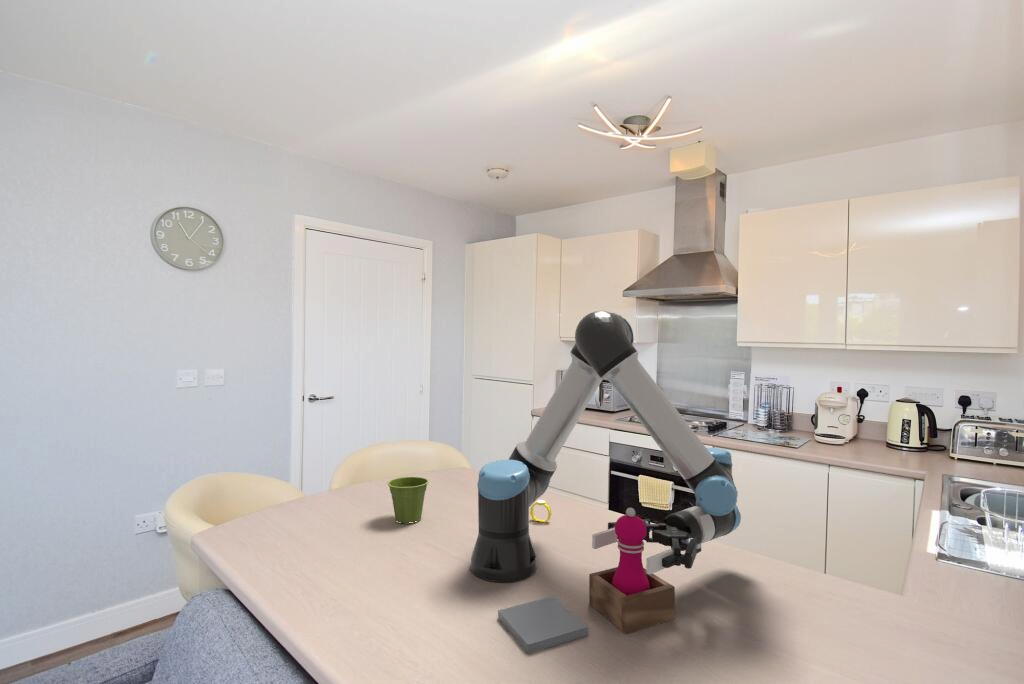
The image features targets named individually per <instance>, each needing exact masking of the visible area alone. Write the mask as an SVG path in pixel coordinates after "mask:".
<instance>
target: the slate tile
mask: <svg viewBox="0 0 1024 684" xmlns="http://www.w3.org/2000/svg"><path fill="white" fill-rule="evenodd" d="M497 612H498V613H497V615H498V617H497V619H498V620H499V621H500V622H501V623H502V625H503V626H504V627H505V628H506V629H507V631H509V634H511V636H512V637H513V638H514V639H515V640H516V641H517V643H518V644H519V645H520V647H522V649H523V650H524V651H525V652H526V653H527V654H528V655H529V654H531V653H534V652H538V651H541V650H546V649H548V648H552V647H555V646H557V645H560V644H564V643H567V642H570V641H574V640H577V639H581V638H583V637H586V636H589V633H588V632H589V627H588V625H586V624H585V623H584V622H583V621H582V620H581V619H580V618H579V617H578V616H576V615H575V614H574V613H573V612H572V611H571V610H570V609H569V608H568V607H566V606H565V605H564V604H563V603H562V602H560V600H558V599H557V598H556V597H555V596H554V595H552V596H549V597H545V598H542V599H541V598H540V599H537V600H533V601H529V602H526V603H522V604H518V605H514V606H510V607H505V608H502V609H498V610H497Z"/></svg>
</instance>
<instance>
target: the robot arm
mask: <svg viewBox="0 0 1024 684" xmlns="http://www.w3.org/2000/svg"><path fill="white" fill-rule="evenodd" d="M634 338H635V337H634V330H633V328H632V326H631V324H630V323H629V321H628V320H627V319H626V318H624V317H623V316H622V315H621V314H620V315H619V314H617V313H615V312H611V311H606V310H597V311H592V312H589V313H587V314H586V315H585V316H583V318H581V320H580V321H579V323H578V324H577V325H576V328H575V332H574V339H575V343H574V345H573V347H572V349H571V350H570V352H569V353H570V357H571V363H570V364H569V365H568V368H567V370H566V371H565V373H564V374H563V376H562V378H561V380H560V382H559V383H558V385H557V387H556V389H555V391H554V392H553V393H552V395H551V397H550V399H549V400H548V402H547V404H546V406H545V408H544V409H543V411H542V413H541V415H540V416H539V418H538V420H537V422H536V423H535V425H534V426H533V429H532V430H531V432H530V434H529V435H528V437H527V439H526V440H525V441H524V440H523V441H521V442H518V443H517V444H516V445H515V447H514V449H513V450H512V452H511V454H510V456H509V458H508V459H499V460H495V461H491V462H488V463H487V464H486V463H485V465H483V466H482V467H481V468H480V470H479V472H478V480H477V491H478V492H477V496H478V497H477V498H478V499H477V505H478V507H477V509H478V511H477V512H478V513H477V515H478V519H477V521H478V533H477V537H476V542H475V544H474V548H473V550H472V553H471V557H470V570H471V572H472V573H473V575H475V576H477V577H478V578H480V579H483V580H486V581H490V582H495V583H511V582H517V581H522V580H524V579H526V578H529V577H531V576H532V575H533V574H534V573H535V572H536V571H537V568H538V567H537V560H538V559H537V554H536V551H535V549H534V544H533V541H532V538H531V535H530V508H531V507H532V505H533V504H534V503H536V501H537V500H539V498H541V497H542V496H543V495H544V494H545V492H546V491H547V490H548V488H549V485H550V482H551V479H552V477H553V475H554V474H555V471H556V470H557V469H558V465H557V462H556V459H557V457H558V455H559V453H560V451H562V448H563V447H564V445H565V444H566V442H567V440H568V438H569V437H570V435H571V433H572V432H573V430H574V428H575V427H576V425H577V423H578V421H579V420H580V418H581V417H582V415H583V413H584V412H585V410H586V408H587V406H588V405H589V403H590V402H591V400H592V398H593V396H594V395H595V393H596V391H597V390H598V388H599V387H600V384H601V383H602V381H608V382H609V383H610V384H611V386H612V387H613V388H614V389H615V391H616V392H617V393H618V395H619V396H620V397H621V398H622V400H623V402H624V403H625V404H626V405H627V407H628V408H629V409H630V411H631V412H632V413H633V414H634V415H635V417H636V419H637V420H638V421H639V422H640V424H641V425H642V426H643V428H645V430H646V431H647V433H648V434H649V435H650V437H651V438H652V439H653V441H654V442H655V443H656V445H657V446H658V447H659V448H660V450H661V451H662V453H663V454H664V455H665V456H666V458H668V461H669V462H671V464H672V466H673V467H674V469H676V470H677V472H678V473H679V474H680V476H681V477H682V479H683V480H684V482H685V483H686V485H687V486H688V487H689V489H690V490H691V491H692V493H693V494H694V496H695V505H694V506H691V507H688V508H685V509H683V510H678V511H675V512H673V513H670V514H668V515H667V516H665V518H664V519H663V521H662V522H658V523H651V519H649V518H644V519H642V520H643V521H644V523H645V525H646V529H647V534H646V537H645V538H644V539H643V541H645V542H646V543H650V544H651V543H654V544H655V543H656V544H659V545H663V546H665V547H670V548H669V549H666V550H664V551H660V552H658V553H656V554H654V555H651V556H648V557H646V559H645V562H646V567H645V569H646V573H647V574H649V575H650V574H655V573H657V572H660V571H662V570H664V569H670V568H672V567H674V566H677V567H678V566H679V567H680V566H681V565H683V566H684V568H685V569H688V570H690V569H692V567H693V564H694V562H695V560H696V556H697V554H699V553H701V552H702V544H704V543H706V542H709V541H712V540H715V539H719V538H720V537H724V536H727V535H729V534H731V532H732V533H733V531H736V530H737V528H739V526H740V524H741V519H742V514H741V512H740V510H739V507H738V506H737V503H738V490H737V487H736V484H735V481H734V478H733V462H732V454H731V452H730V451H729V450H727V449H724V448H718V447H706V446H705V445H704V443H703V442H702V440H701V439H700V438H699V436H697V434H696V433H695V432H694V430H693V429H692V428H691V426H690V425H689V424H688V423H687V421H686V420H685V419H684V418H683V416H682V415H681V413H680V412H679V411H678V409H677V408H676V407H675V406H674V404H673V403H672V402H671V401H670V399H669V398H668V397H667V395H666V394H665V393H664V391H662V389H661V387H659V384H657V383H656V382H655V380H654V379H653V378H652V377H651V375H650V374H649V372H648V371H647V369H646V368H645V367H644V366H643V364H642V363H641V362H640V361H639V359H638V358H639V351H638V350H637V349H636V348H635V346H634V345H633V344H634ZM615 524H616V521H610V522H607V529H606V530H603V531H599V532H596V533H593V534H592V535H591V536H592V537H591V540H592V541H591V548H592V549H594V550H597V549H599V548H600V549H601V548H604V547H606V546H608V545H611V544H614V543H615V544H616V543H618V542H617V541H618V539H619V538H618V537H617V535H616V533H615ZM650 532H651V537H650ZM682 552H684V553H682Z"/></svg>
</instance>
